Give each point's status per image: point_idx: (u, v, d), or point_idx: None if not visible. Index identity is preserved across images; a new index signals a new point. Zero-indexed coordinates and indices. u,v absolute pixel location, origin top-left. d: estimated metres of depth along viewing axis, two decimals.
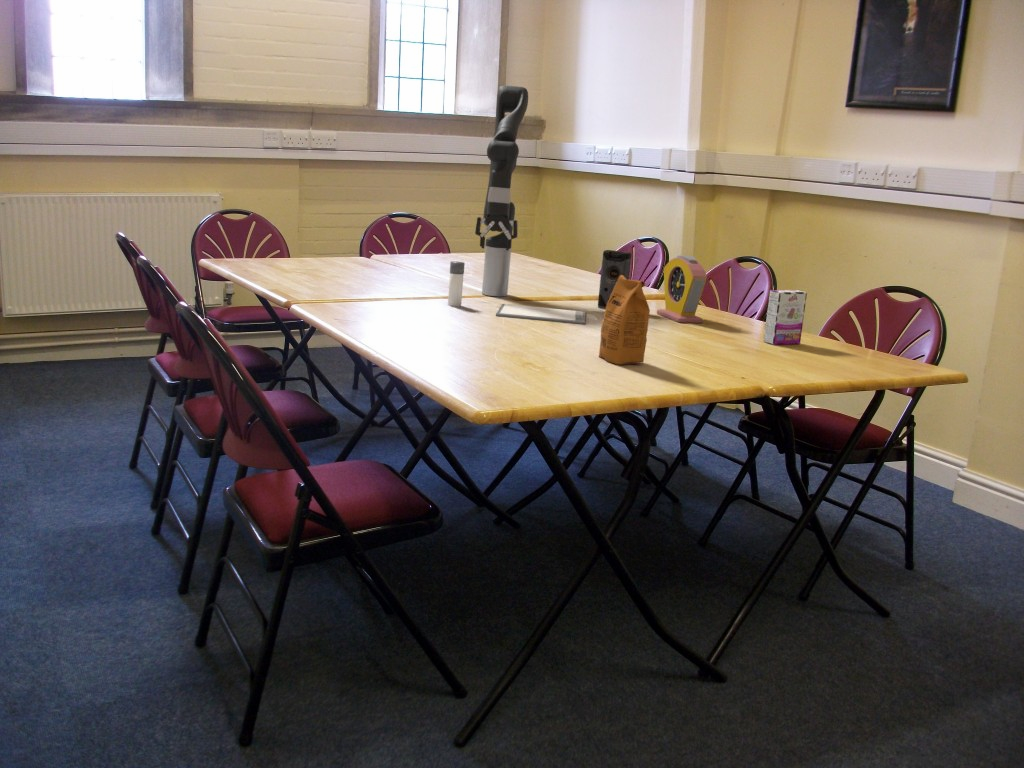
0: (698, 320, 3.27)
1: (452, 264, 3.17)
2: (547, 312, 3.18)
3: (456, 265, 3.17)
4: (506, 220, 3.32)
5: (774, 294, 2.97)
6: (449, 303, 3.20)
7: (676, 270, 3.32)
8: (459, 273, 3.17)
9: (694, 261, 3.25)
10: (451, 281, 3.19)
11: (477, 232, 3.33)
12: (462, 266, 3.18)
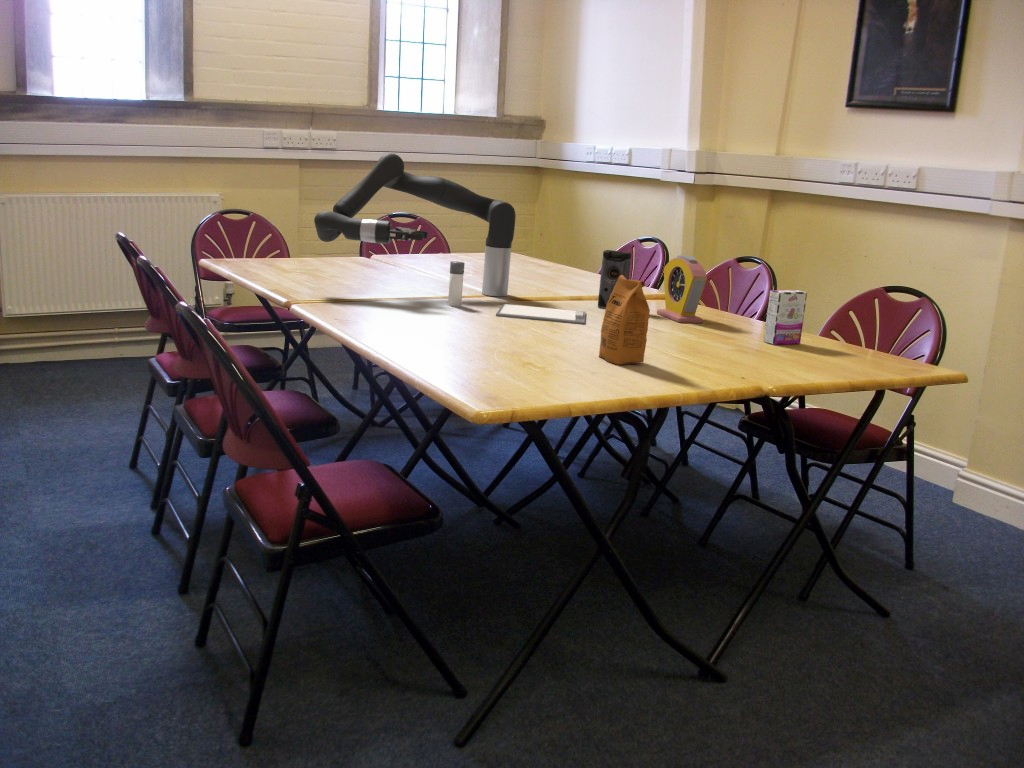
0: (698, 320, 3.27)
1: (452, 264, 3.17)
2: (547, 312, 3.18)
3: (456, 265, 3.17)
4: None
5: (774, 294, 2.97)
6: (449, 303, 3.20)
7: (676, 270, 3.32)
8: (459, 273, 3.17)
9: (694, 261, 3.25)
10: (451, 281, 3.19)
11: None
12: (462, 266, 3.18)
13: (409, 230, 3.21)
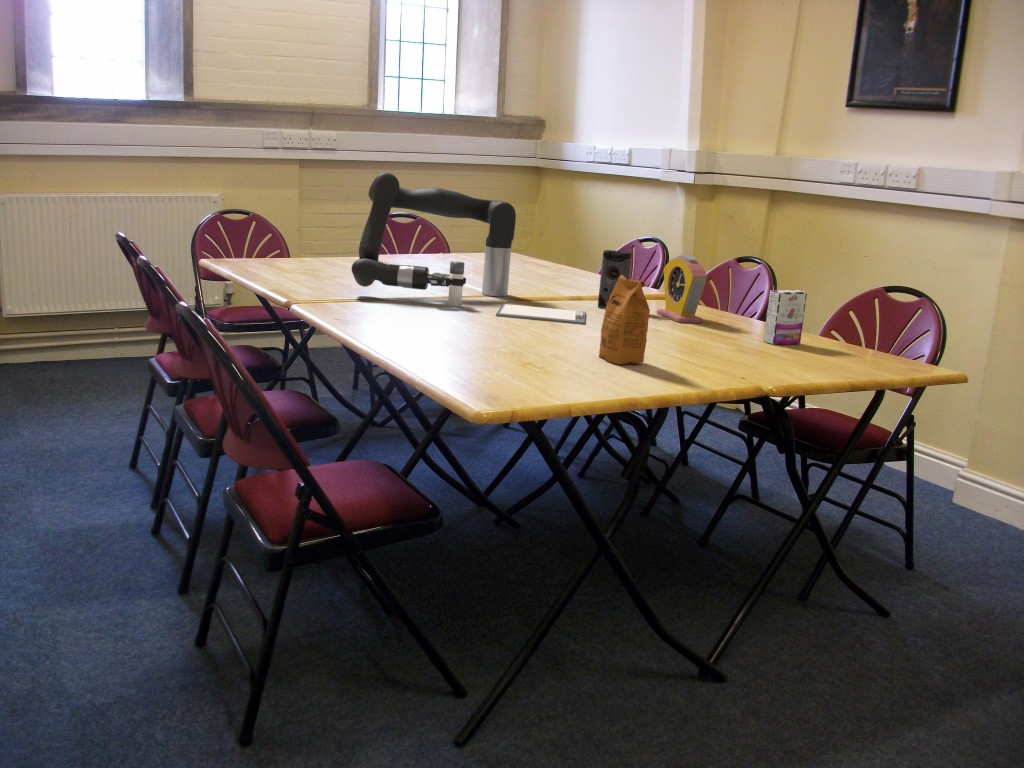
0: (698, 320, 3.27)
1: (452, 264, 3.17)
2: (547, 312, 3.18)
3: (456, 265, 3.17)
4: (429, 283, 3.18)
5: (774, 294, 2.97)
6: (449, 303, 3.20)
7: (676, 270, 3.32)
8: (459, 273, 3.17)
9: (694, 261, 3.25)
10: None
11: None
12: (462, 266, 3.18)
13: (446, 276, 3.22)
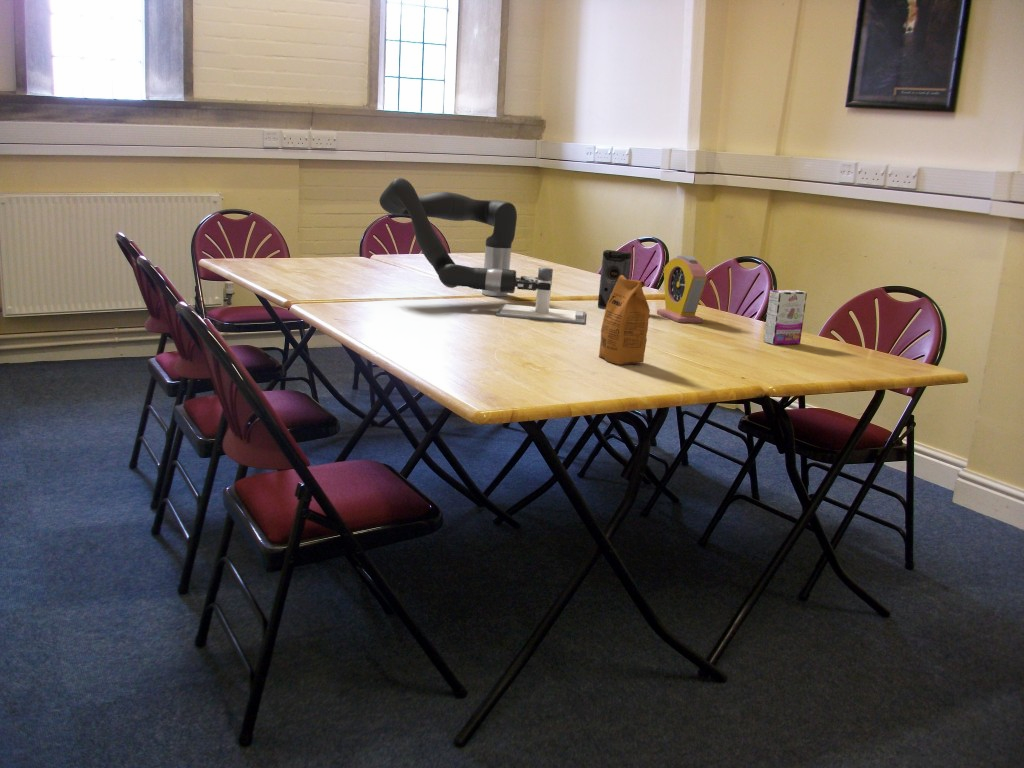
0: (698, 320, 3.27)
1: (541, 270, 3.13)
2: None
3: (545, 271, 3.13)
4: None
5: (774, 294, 2.97)
6: (537, 310, 3.16)
7: (676, 270, 3.32)
8: (548, 279, 3.13)
9: (694, 261, 3.25)
10: None
11: None
12: (551, 272, 3.14)
13: (533, 279, 3.19)
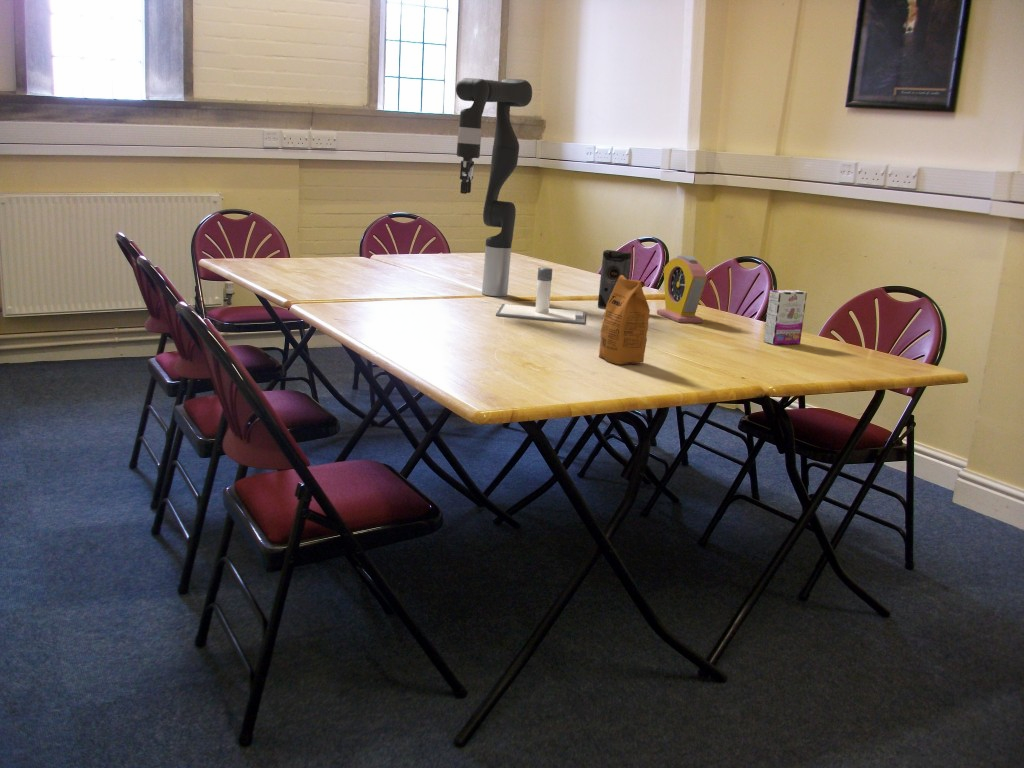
0: (698, 320, 3.27)
1: (540, 271, 3.13)
2: None
3: (545, 272, 3.12)
4: None
5: (774, 294, 2.97)
6: (537, 310, 3.16)
7: (676, 270, 3.32)
8: (548, 280, 3.13)
9: (694, 261, 3.25)
10: (539, 288, 3.14)
11: None
12: (550, 272, 3.13)
13: (471, 175, 3.23)
